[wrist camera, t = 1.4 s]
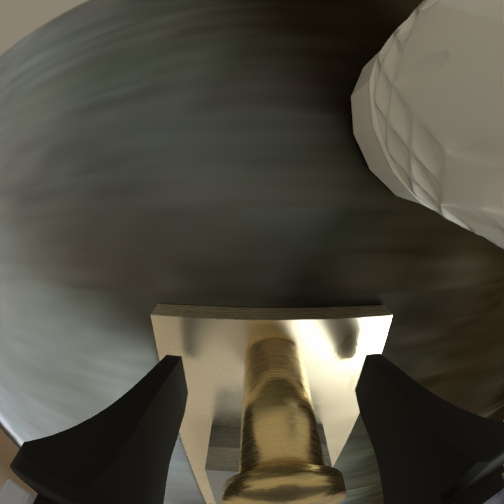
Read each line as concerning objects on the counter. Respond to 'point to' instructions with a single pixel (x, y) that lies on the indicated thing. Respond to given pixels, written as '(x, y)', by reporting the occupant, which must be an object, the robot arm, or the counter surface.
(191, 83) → the counter surface
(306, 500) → the brass knob
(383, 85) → the white cup
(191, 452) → the door lock with knob
